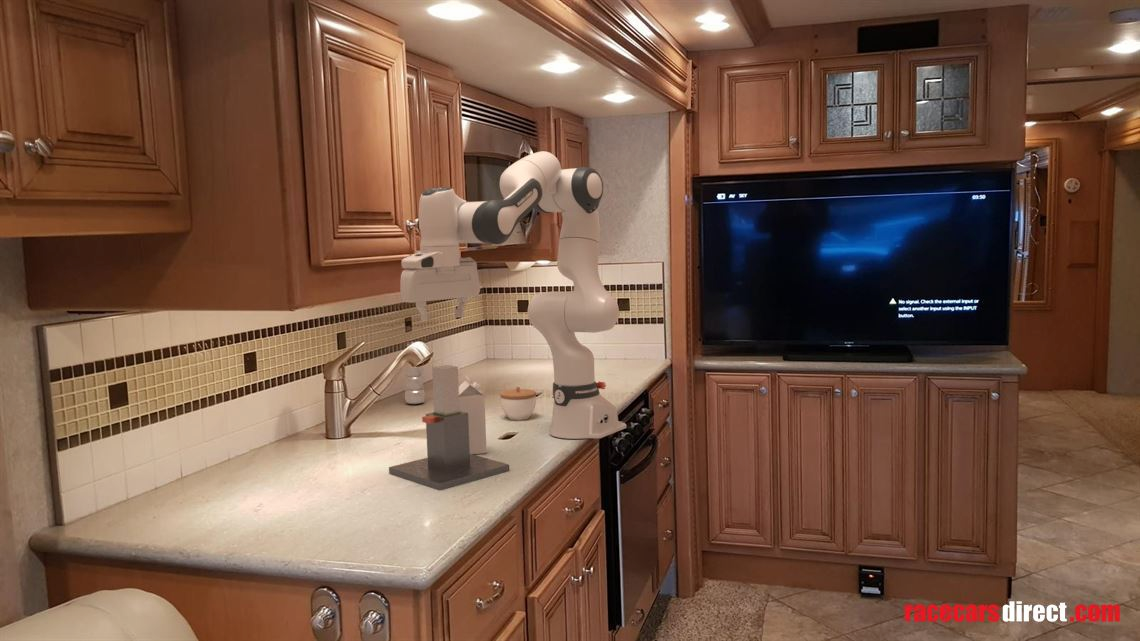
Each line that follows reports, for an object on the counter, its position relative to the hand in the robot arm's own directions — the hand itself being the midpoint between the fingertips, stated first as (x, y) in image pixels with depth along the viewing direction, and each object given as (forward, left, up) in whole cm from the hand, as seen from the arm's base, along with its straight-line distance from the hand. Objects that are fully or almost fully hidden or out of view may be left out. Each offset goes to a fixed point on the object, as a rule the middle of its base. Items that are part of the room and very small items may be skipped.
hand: (442, 319), depth 201 cm
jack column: (0, 0, -29) cm, 29 cm away
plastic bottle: (-41, -73, -36) cm, 92 cm away
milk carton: (-15, -11, -36) cm, 41 cm away
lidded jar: (-49, -31, -36) cm, 68 cm away
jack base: (0, 0, -36) cm, 36 cm away
